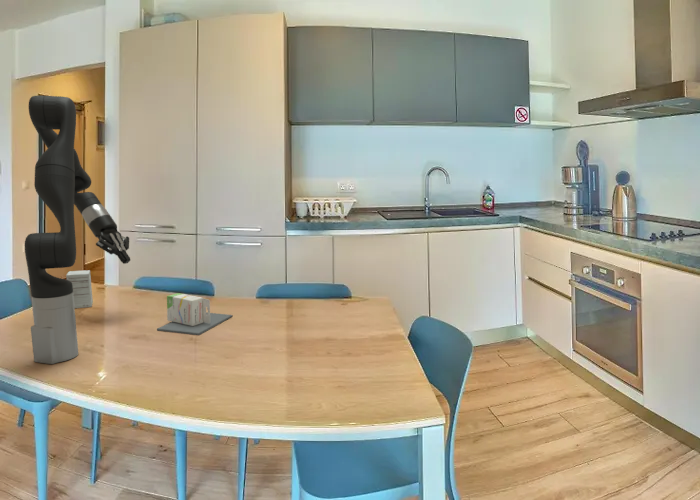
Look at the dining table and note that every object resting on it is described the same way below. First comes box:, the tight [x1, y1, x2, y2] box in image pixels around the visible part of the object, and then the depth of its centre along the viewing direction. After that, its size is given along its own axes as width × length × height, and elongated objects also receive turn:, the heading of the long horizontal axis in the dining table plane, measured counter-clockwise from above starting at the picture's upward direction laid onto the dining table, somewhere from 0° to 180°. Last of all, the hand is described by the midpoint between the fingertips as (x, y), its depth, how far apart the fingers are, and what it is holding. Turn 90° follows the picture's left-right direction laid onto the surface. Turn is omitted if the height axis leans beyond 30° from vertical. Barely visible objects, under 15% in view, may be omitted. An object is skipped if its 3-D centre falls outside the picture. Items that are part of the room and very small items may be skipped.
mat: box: [156, 311, 233, 336], centre depth 153 cm, size 20×15×1 cm
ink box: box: [166, 292, 211, 326], centre depth 151 cm, size 9×5×15 cm
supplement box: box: [65, 269, 94, 309], centre depth 172 cm, size 7×7×13 cm
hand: (127, 262), depth 155 cm, fingers closed
